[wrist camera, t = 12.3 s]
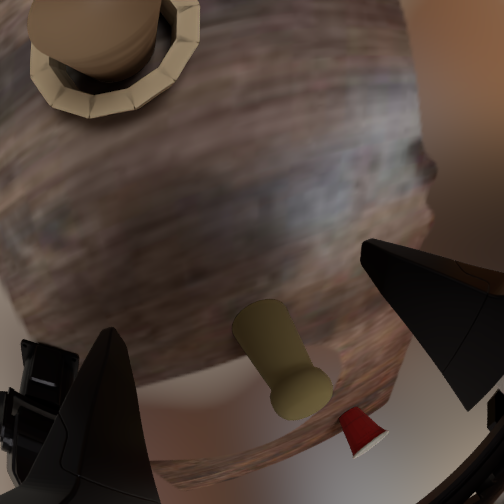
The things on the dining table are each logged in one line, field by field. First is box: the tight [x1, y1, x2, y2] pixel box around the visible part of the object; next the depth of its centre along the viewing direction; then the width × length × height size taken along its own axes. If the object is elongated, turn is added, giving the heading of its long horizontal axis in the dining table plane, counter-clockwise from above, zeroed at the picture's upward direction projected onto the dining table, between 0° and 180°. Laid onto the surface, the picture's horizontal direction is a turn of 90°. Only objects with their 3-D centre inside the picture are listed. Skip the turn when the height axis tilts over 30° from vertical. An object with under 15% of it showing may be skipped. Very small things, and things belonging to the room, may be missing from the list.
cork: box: [232, 299, 333, 420], centre depth 23 cm, size 6×6×11 cm
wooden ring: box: [30, 0, 200, 119], centre depth 10 cm, size 9×9×4 cm
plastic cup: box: [339, 407, 389, 459], centre depth 53 cm, size 11×11×12 cm
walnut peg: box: [27, 0, 161, 82], centre depth 8 cm, size 5×5×9 cm
